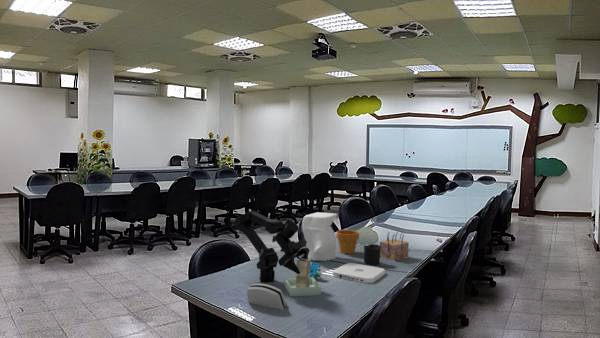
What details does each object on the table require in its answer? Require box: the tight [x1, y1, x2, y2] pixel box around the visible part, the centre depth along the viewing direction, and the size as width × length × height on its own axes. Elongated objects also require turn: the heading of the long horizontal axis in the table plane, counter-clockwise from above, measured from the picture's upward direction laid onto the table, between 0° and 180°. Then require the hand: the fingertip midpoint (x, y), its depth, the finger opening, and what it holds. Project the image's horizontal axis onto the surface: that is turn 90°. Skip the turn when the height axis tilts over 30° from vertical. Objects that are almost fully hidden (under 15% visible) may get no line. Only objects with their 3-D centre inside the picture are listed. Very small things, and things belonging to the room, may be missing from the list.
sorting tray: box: [283, 277, 322, 297], centre depth 197 cm, size 14×14×4 cm
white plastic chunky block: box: [301, 211, 338, 262], centre depth 254 cm, size 21×27×26 cm
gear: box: [310, 261, 322, 280], centre depth 217 cm, size 11×6×10 cm
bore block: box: [295, 259, 311, 287], centre depth 196 cm, size 4×4×13 cm
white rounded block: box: [246, 283, 288, 311], centre depth 177 cm, size 17×5×10 cm, turn 63°
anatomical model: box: [379, 231, 409, 262], centre depth 261 cm, size 16×11×15 cm
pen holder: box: [363, 243, 381, 266], centre depth 246 cm, size 9×9×10 cm
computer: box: [332, 262, 386, 284], centre depth 224 cm, size 22×22×3 cm
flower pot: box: [335, 229, 360, 255], centre depth 270 cm, size 14×14×13 cm
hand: (305, 271), depth 196 cm, fingers open, 9 cm apart
